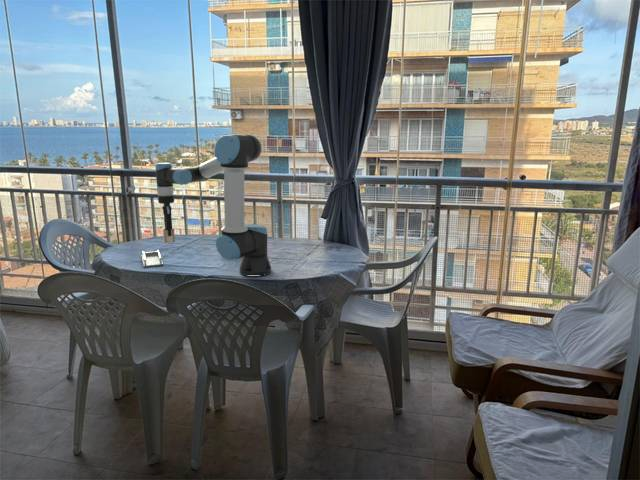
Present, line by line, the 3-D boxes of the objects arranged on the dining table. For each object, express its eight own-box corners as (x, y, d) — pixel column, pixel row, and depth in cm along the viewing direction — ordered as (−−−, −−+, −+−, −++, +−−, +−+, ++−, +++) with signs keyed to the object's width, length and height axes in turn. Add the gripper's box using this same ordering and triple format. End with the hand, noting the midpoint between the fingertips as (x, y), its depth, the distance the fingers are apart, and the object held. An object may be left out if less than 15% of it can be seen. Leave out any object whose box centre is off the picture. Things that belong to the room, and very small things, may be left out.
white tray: (163, 265, 218) (162, 259, 217) (143, 267, 215) (143, 260, 214) (159, 254, 236) (159, 248, 235) (141, 256, 232) (141, 250, 231)
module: (175, 242, 221) (173, 227, 219) (164, 243, 219) (163, 228, 217) (174, 240, 224) (173, 225, 222) (163, 241, 222) (162, 226, 220)
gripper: (175, 196, 210) (179, 244, 215) (171, 192, 225) (175, 236, 230) (159, 197, 207) (163, 245, 212) (156, 192, 222) (160, 237, 227)
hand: (169, 240), depth 221 cm, fingers closed on module, 4 cm apart
